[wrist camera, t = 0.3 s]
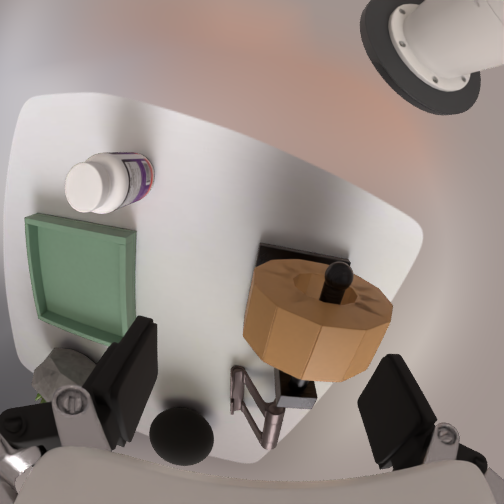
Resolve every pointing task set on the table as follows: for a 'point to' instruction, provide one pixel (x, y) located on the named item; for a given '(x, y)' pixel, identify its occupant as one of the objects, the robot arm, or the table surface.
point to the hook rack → (336, 282)
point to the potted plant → (61, 372)
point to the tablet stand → (268, 410)
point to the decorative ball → (181, 436)
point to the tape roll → (313, 322)
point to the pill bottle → (108, 182)
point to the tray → (82, 276)
